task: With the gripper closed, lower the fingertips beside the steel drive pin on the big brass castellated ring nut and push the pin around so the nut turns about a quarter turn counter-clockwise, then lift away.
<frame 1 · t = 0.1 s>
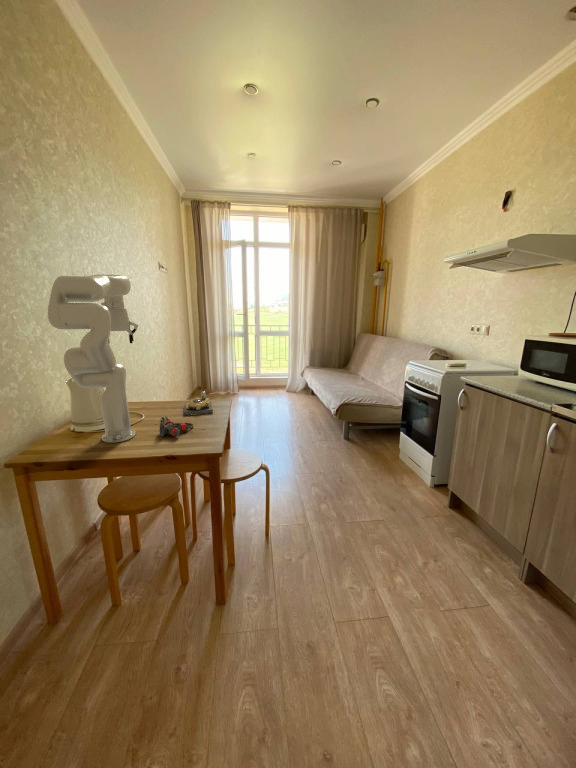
hand: (119, 343, 142), 37 cm above the table, tool pointing down, fingers open, 9 cm apart
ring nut: (197, 399, 161), point 6 cm above the table, hinge at 0.0°
base plate: (198, 409, 162), on the table
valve: (175, 428, 139), on the table
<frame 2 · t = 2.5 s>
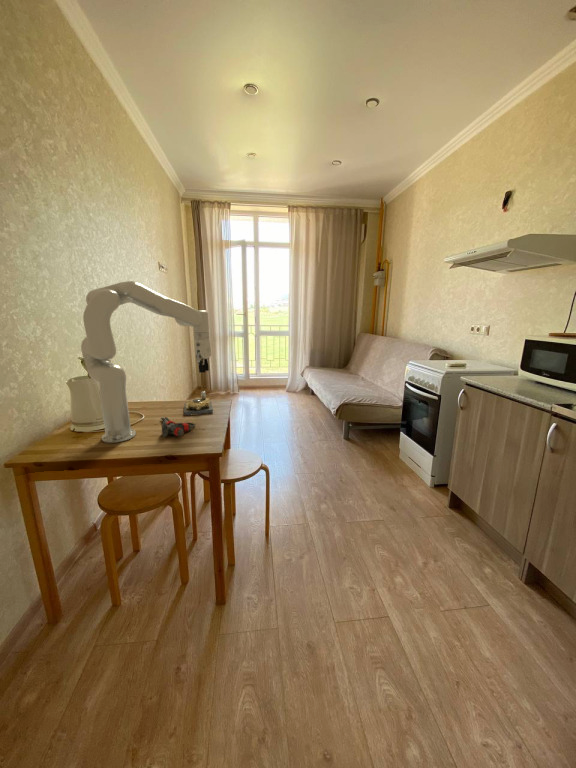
hand: (204, 371, 156), 21 cm above the table, tool pointing down, fingers open, 3 cm apart
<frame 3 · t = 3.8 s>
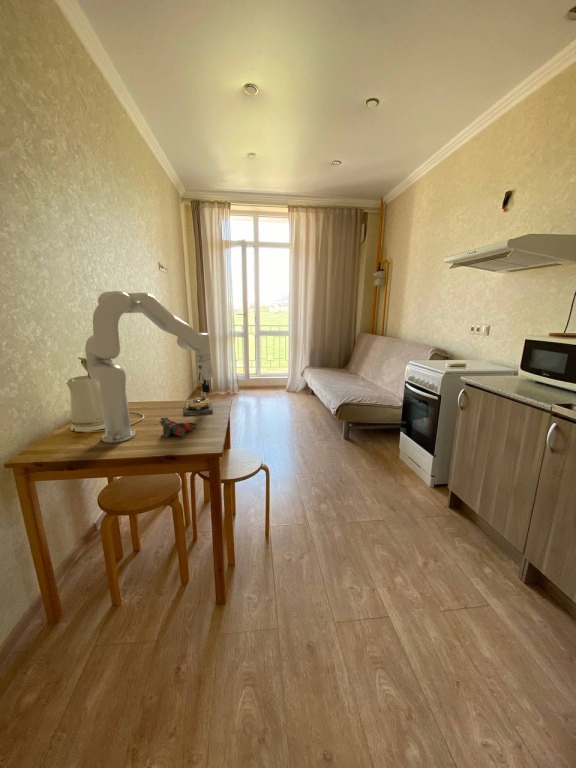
hand: (206, 391, 160), 10 cm above the table, tool pointing down, fingers closed
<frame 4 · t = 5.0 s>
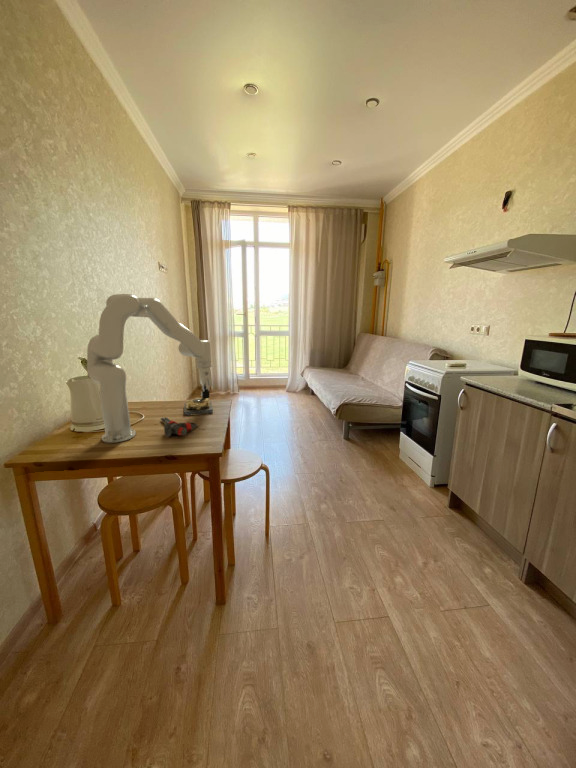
hand: (206, 397, 162), 6 cm above the table, tool pointing down, fingers closed
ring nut: (197, 399, 161), point 6 cm above the table, hinge at 0.9°, touching gripper
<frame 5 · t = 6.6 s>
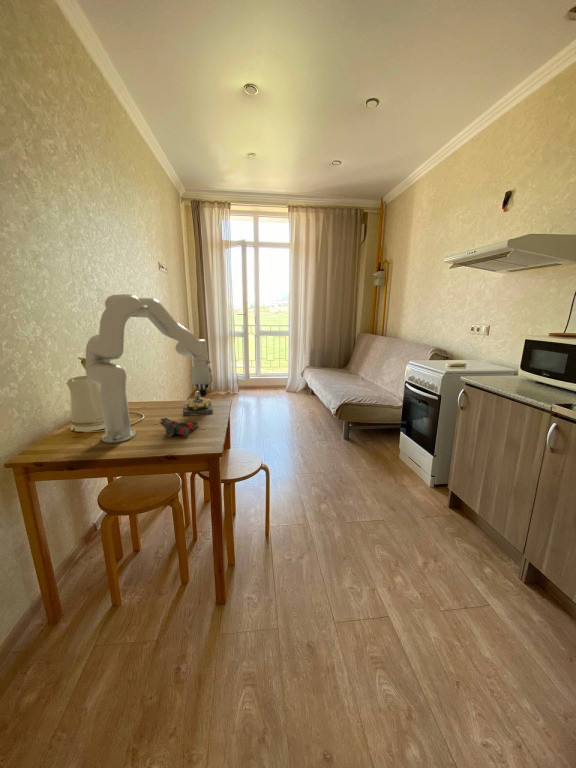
hand: (203, 396, 165), 6 cm above the table, tool pointing down, fingers closed
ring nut: (197, 399, 161), point 6 cm above the table, hinge at 45.3°, touching gripper
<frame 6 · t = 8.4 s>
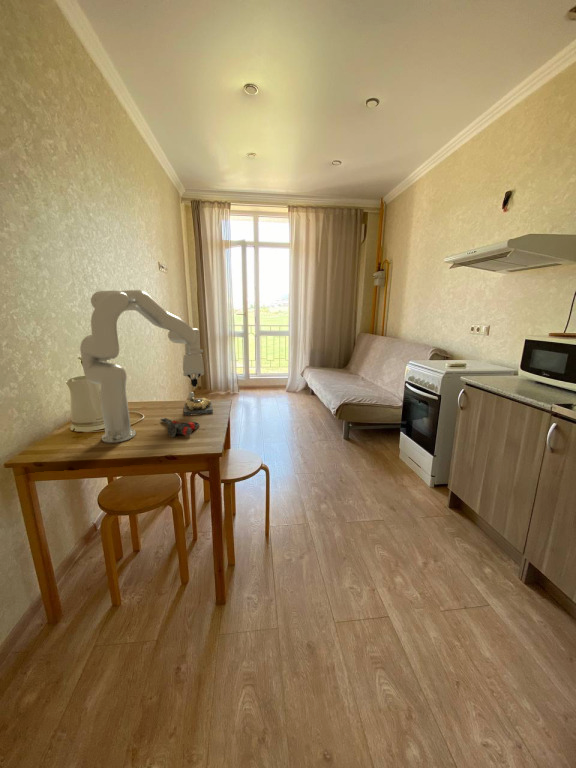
hand: (194, 386, 163), 12 cm above the table, tool pointing down, fingers closed
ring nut: (197, 399, 161), point 6 cm above the table, hinge at 85.2°
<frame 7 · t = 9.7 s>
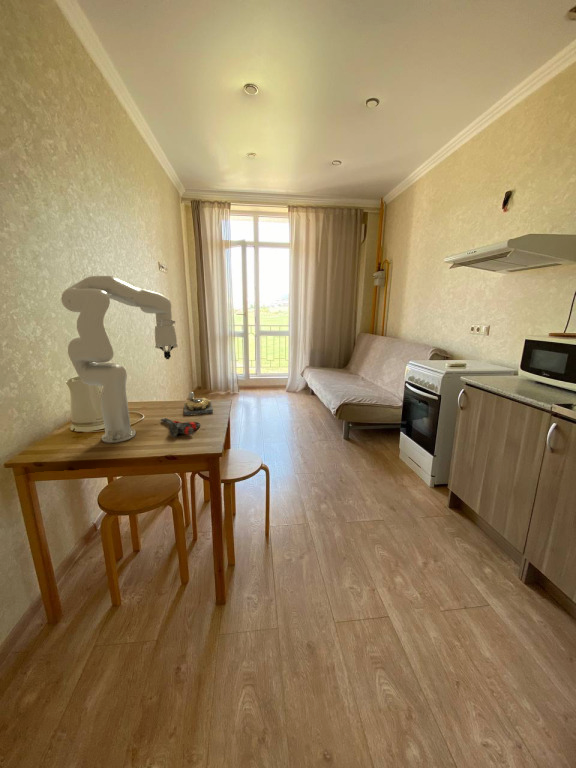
hand: (167, 359, 159), 27 cm above the table, tool pointing down, fingers closed
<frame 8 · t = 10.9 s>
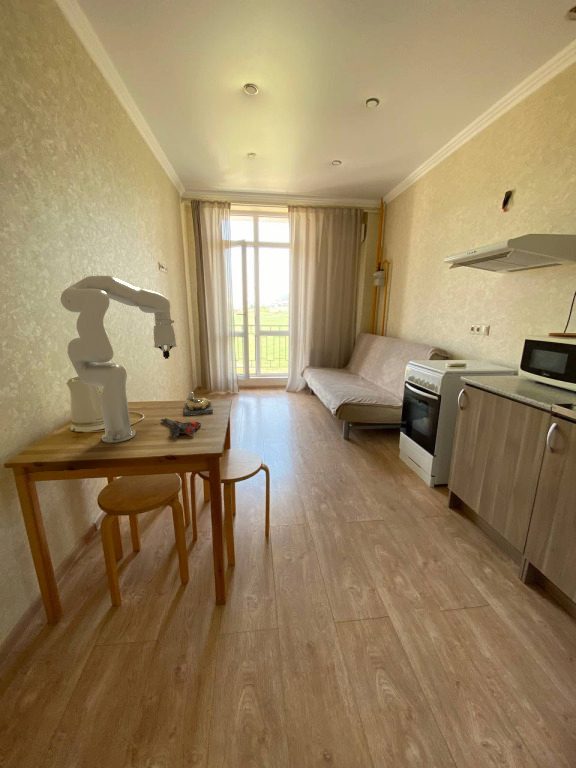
hand: (166, 358, 159), 27 cm above the table, tool pointing down, fingers closed
at the end: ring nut at +85° (first picture: +0°) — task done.
